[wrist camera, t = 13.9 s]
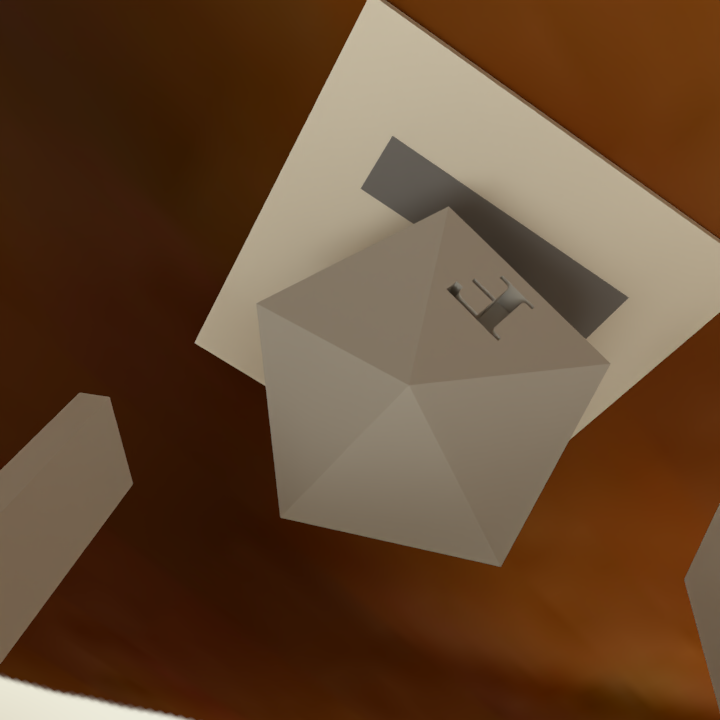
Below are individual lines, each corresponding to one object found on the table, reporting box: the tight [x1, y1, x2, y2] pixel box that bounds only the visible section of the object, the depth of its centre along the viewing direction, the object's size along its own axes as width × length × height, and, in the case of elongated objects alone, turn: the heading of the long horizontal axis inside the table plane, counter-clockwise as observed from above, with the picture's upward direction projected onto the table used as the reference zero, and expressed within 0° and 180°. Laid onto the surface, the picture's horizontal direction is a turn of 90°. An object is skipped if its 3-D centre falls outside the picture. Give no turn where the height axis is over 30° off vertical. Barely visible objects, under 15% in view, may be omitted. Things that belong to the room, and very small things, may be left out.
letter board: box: [195, 0, 720, 439], centre depth 20 cm, size 13×13×1 cm
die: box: [256, 207, 610, 567], centre depth 17 cm, size 8×9×10 cm
